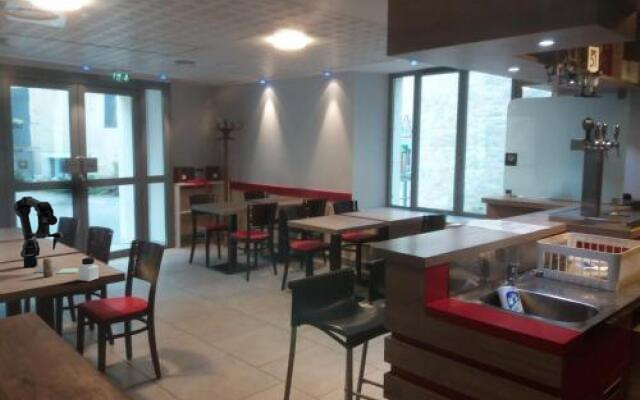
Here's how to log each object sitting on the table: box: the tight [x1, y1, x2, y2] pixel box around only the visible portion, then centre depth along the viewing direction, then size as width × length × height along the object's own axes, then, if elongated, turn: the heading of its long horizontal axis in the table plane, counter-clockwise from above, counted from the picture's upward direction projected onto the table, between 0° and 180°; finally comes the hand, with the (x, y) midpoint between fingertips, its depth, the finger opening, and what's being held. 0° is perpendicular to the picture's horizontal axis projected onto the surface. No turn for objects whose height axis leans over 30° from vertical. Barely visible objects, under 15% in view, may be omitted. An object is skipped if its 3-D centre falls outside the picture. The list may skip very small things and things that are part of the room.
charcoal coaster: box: [33, 267, 58, 274], centre depth 291 cm, size 10×10×1 cm
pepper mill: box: [42, 257, 53, 279], centre depth 277 cm, size 4×4×10 cm
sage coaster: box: [57, 267, 79, 275], centre depth 289 cm, size 10×10×1 cm
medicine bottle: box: [77, 256, 99, 282], centre depth 272 cm, size 7×7×12 cm
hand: (44, 250), depth 289 cm, fingers open, 9 cm apart
